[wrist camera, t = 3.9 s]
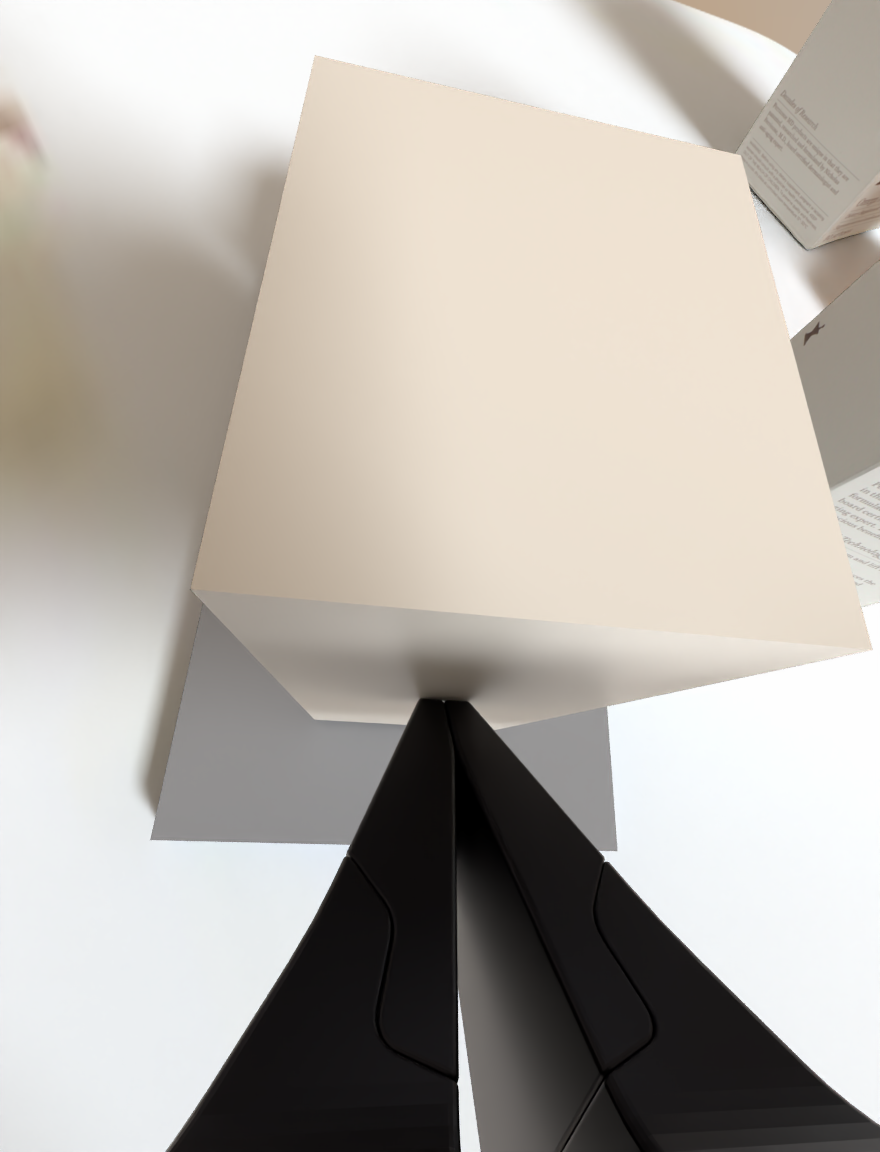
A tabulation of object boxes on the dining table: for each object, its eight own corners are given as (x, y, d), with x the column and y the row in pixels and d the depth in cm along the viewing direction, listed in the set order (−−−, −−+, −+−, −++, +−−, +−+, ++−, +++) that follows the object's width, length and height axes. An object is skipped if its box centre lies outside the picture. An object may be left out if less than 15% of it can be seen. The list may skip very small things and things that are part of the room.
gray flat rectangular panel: (600, 845, 15) (621, 852, 13) (164, 834, 13) (146, 841, 12) (567, 309, 22) (579, 283, 21) (287, 259, 20) (283, 228, 19)
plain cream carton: (495, 729, 14) (872, 649, 4) (212, 713, 13) (-294, 545, 3) (496, 445, 17) (700, 0, 7) (272, 414, 16) (137, -156, 6)
